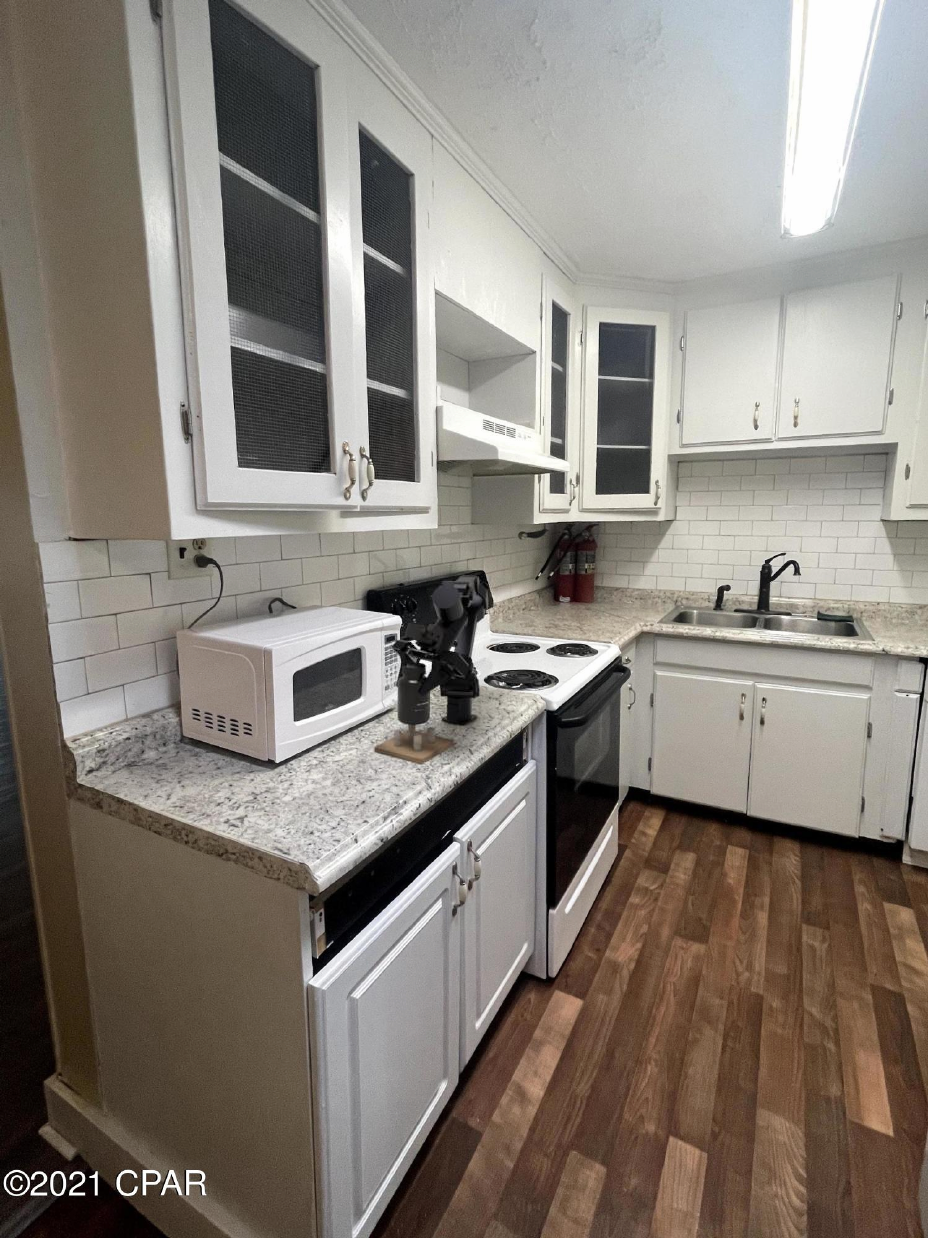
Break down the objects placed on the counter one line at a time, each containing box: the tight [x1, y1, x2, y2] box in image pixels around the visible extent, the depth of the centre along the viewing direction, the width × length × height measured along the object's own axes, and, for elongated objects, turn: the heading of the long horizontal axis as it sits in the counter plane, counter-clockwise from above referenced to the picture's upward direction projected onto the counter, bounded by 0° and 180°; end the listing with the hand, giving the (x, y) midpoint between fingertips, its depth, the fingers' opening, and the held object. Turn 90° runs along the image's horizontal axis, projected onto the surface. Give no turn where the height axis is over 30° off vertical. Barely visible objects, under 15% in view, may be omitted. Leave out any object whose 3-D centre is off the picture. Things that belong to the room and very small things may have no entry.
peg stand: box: [374, 724, 455, 765], centre depth 124 cm, size 12×12×4 cm
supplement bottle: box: [396, 662, 431, 726], centre depth 123 cm, size 7×7×12 cm
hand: (408, 691), depth 122 cm, fingers closed on supplement bottle, 7 cm apart
